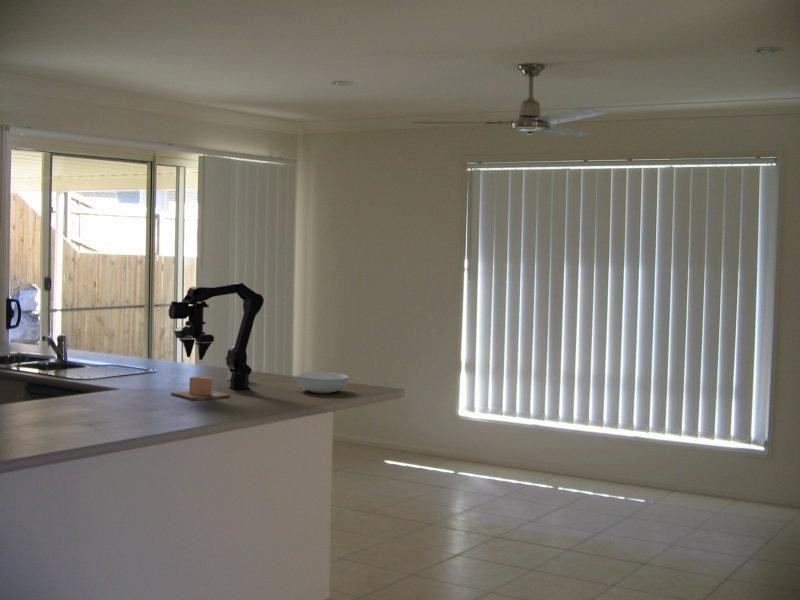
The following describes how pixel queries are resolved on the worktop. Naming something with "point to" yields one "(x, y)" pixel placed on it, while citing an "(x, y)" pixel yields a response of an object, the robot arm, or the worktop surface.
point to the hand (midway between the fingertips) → (194, 358)
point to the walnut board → (200, 397)
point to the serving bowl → (322, 381)
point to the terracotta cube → (200, 385)
